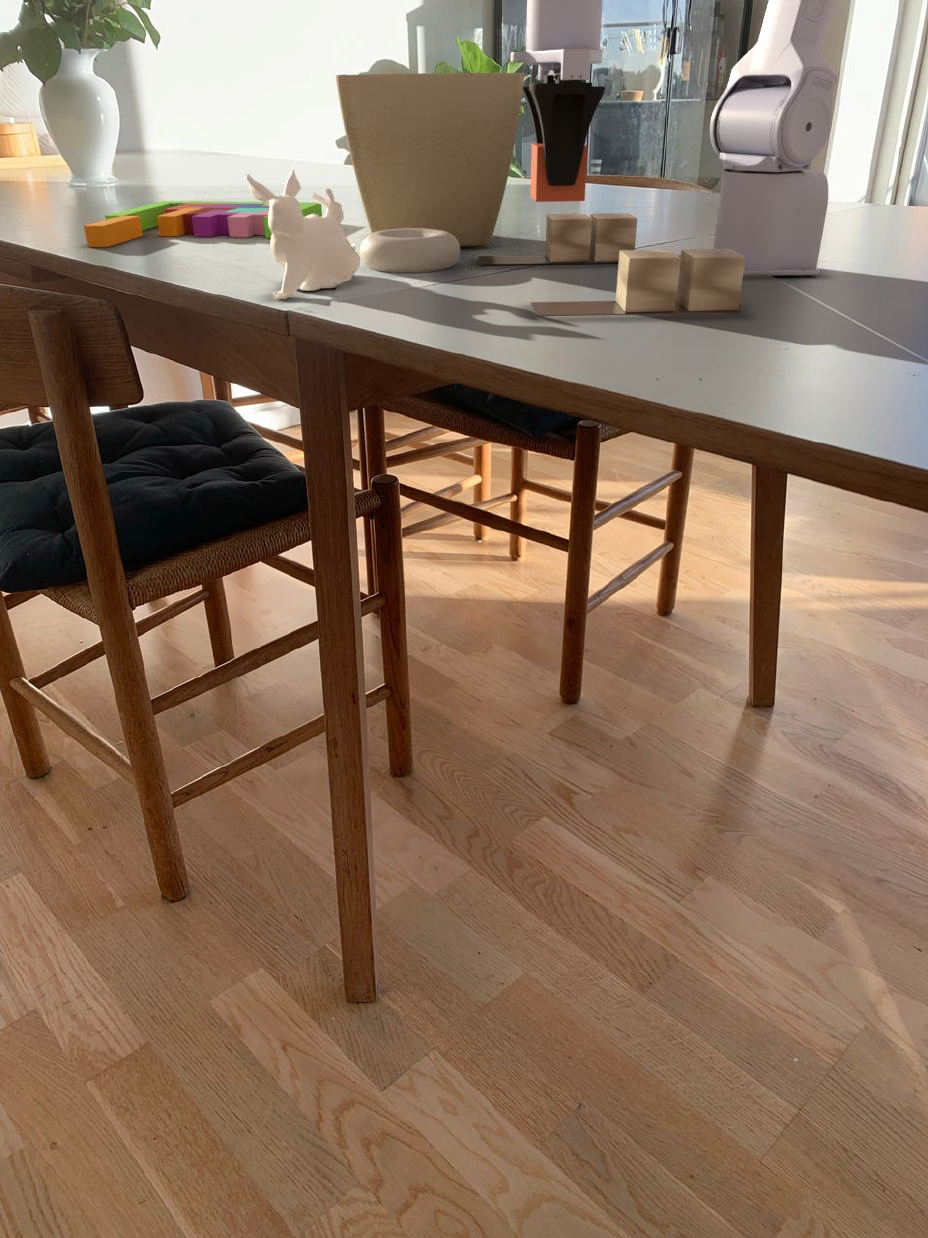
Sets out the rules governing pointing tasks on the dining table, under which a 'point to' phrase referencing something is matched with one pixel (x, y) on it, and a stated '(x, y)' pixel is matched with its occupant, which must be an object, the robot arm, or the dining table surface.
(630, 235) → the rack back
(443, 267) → the donut
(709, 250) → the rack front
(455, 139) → the flower pot
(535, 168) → the rust orange cube
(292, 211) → the rabbit figurine
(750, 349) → the dining table surface
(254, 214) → the toy blocks
